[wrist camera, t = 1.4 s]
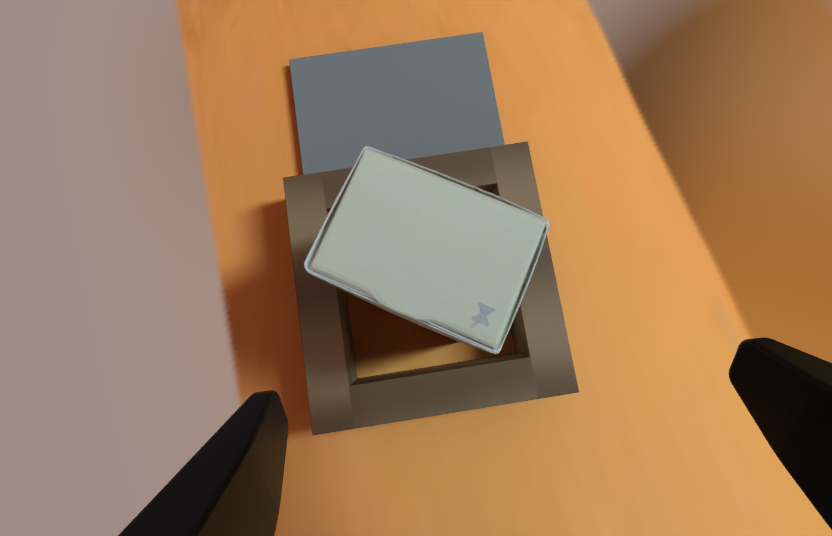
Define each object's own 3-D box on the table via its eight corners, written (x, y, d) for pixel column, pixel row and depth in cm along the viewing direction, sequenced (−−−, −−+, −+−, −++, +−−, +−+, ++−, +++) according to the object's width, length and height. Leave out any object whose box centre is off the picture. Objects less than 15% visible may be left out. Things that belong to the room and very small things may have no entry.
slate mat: (504, 157, 25) (506, 153, 24) (306, 186, 25) (304, 183, 24) (481, 38, 26) (482, 32, 25) (291, 64, 26) (289, 59, 25)
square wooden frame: (557, 383, 23) (579, 392, 20) (326, 421, 23) (312, 435, 20) (514, 163, 25) (527, 141, 22) (299, 195, 24) (283, 177, 22)
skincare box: (490, 274, 24) (567, 221, 12) (461, 344, 23) (510, 364, 11) (388, 231, 24) (362, 135, 12) (357, 299, 24) (297, 269, 12)
